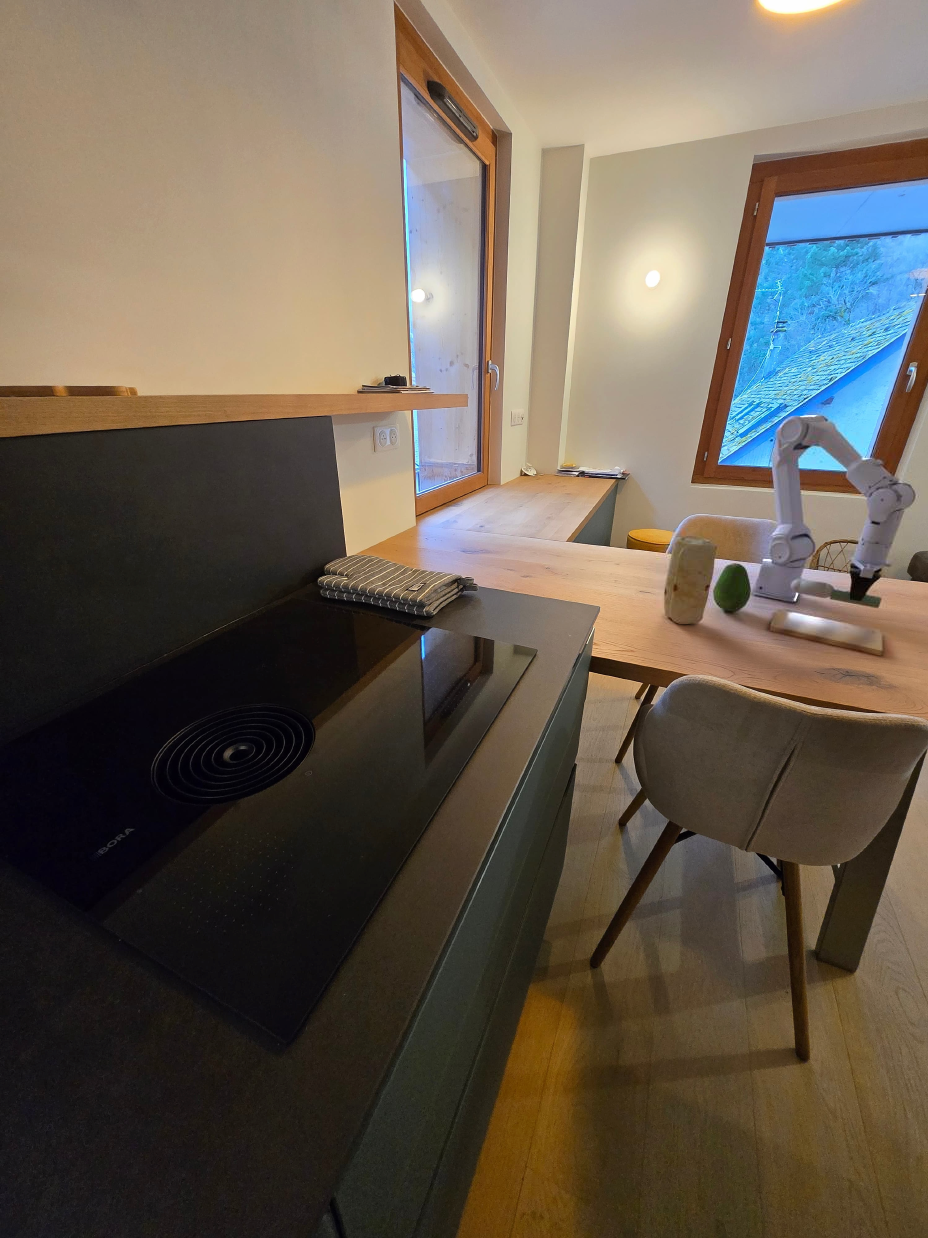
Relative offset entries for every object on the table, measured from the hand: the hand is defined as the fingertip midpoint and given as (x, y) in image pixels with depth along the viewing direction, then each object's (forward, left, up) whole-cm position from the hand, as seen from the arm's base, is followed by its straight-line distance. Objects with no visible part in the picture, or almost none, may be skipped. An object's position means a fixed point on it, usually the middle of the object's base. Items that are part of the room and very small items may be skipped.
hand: (855, 597), depth 113 cm
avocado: (-24, -10, -6) cm, 27 cm away
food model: (-32, -22, -6) cm, 39 cm away
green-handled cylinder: (-4, 0, -1) cm, 4 cm away
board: (-4, -11, -6) cm, 13 cm away
